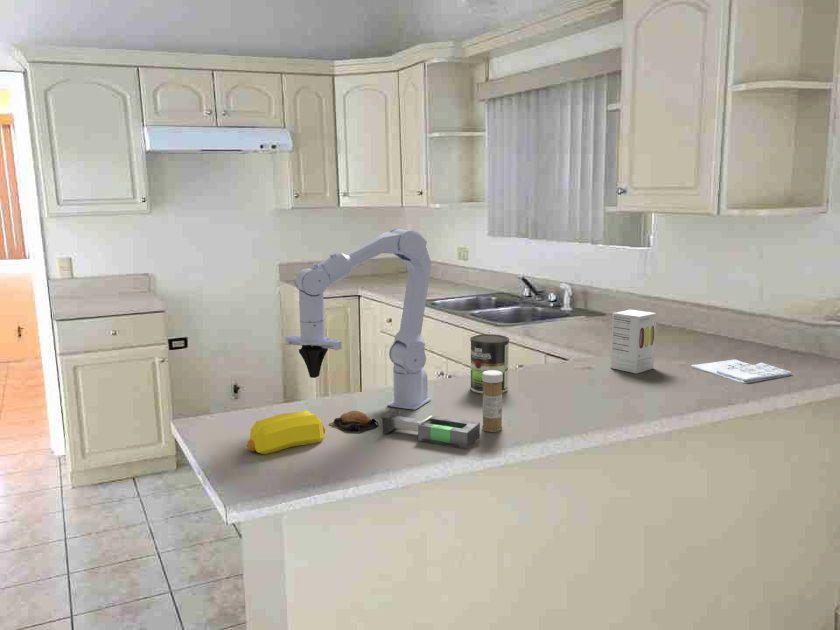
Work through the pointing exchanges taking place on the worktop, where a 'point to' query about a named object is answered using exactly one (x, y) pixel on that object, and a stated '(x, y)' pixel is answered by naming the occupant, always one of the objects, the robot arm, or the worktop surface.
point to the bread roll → (354, 422)
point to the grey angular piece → (401, 422)
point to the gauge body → (449, 432)
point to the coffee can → (488, 359)
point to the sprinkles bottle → (492, 400)
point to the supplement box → (633, 341)
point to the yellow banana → (285, 432)
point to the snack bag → (742, 371)
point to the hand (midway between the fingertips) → (314, 376)
